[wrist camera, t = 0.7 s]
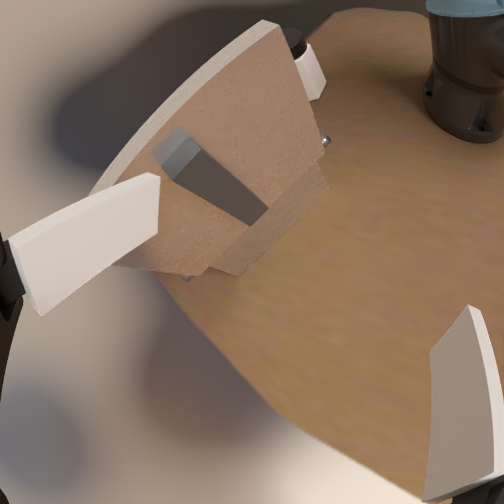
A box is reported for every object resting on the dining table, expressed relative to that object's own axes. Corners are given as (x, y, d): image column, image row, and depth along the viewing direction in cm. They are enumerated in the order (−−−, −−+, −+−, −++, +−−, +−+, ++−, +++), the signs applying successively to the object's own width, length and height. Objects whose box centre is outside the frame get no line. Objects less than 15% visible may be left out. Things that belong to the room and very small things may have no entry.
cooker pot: (350, 183, 36) (332, 134, 26) (232, 295, 40) (180, 282, 30) (275, 126, 44) (244, 84, 35) (182, 219, 48) (137, 194, 39)
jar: (293, 73, 46) (267, 29, 36) (331, 75, 42) (309, 25, 32) (275, 104, 46) (244, 58, 36) (315, 107, 42) (289, 55, 31)
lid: (315, 144, 28) (335, 161, 27) (191, 266, 31) (206, 286, 30) (262, 19, 12) (298, 32, 11) (59, 241, 15) (70, 276, 14)
